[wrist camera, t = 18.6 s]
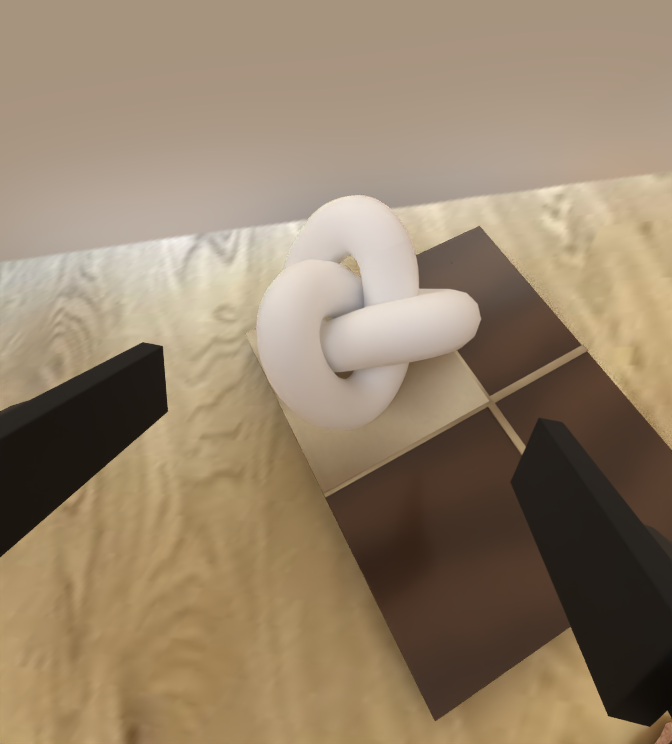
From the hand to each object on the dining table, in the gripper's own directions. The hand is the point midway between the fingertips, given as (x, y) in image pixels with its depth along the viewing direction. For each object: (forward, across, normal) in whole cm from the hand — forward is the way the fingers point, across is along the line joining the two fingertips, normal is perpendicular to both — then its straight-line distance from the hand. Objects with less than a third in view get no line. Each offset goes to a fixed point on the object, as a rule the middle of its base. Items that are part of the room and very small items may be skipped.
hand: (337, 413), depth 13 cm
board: (+11, +7, -6) cm, 14 cm away
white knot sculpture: (+12, 0, -3) cm, 12 cm away
